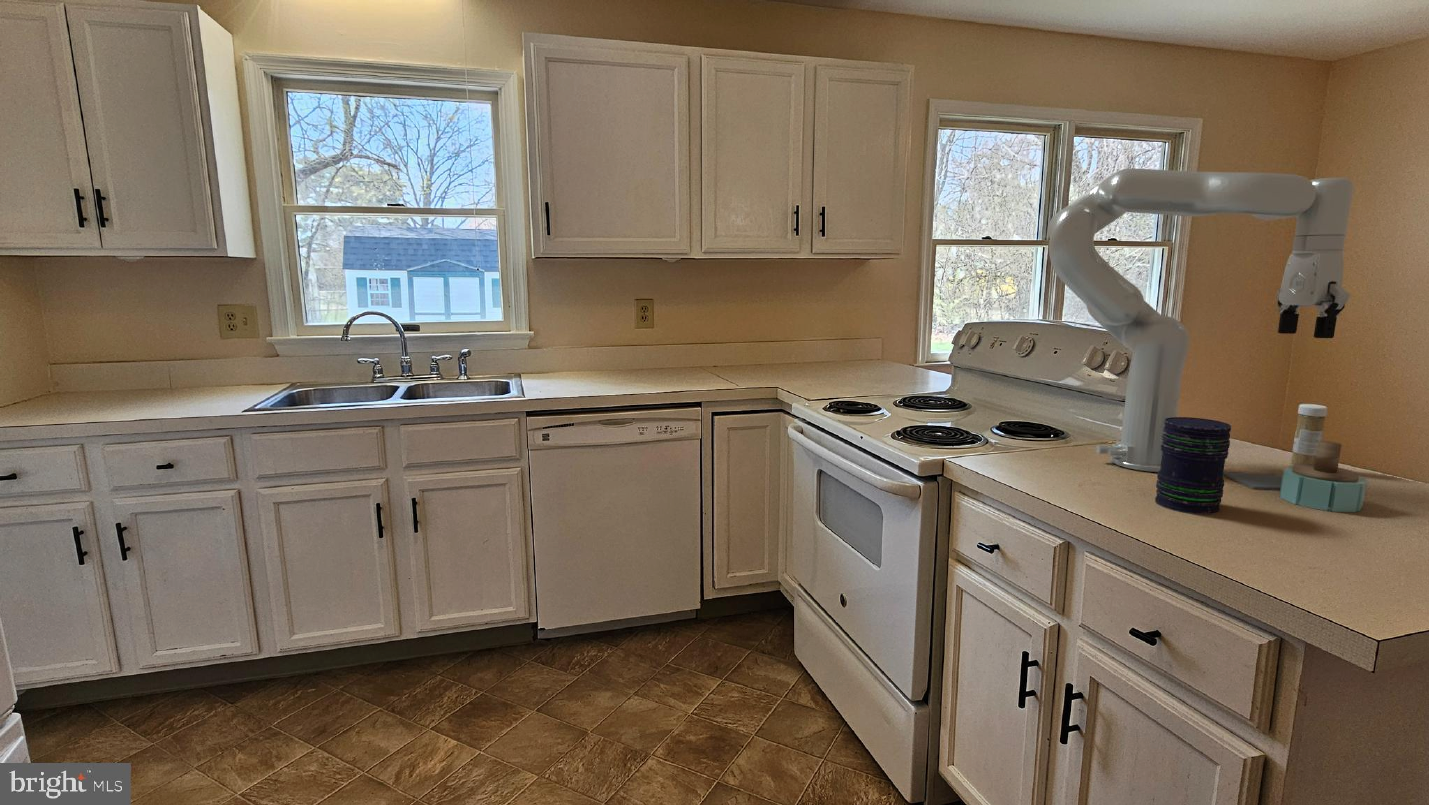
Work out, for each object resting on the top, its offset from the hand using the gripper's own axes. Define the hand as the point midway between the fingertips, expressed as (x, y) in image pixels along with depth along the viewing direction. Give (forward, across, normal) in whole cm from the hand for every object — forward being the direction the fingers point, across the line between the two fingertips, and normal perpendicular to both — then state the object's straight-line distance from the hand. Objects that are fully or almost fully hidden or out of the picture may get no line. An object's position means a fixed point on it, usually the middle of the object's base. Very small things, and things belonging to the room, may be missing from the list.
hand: (1304, 335), depth 139 cm
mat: (+28, +5, -7) cm, 30 cm away
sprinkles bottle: (+28, -6, +8) cm, 30 cm away
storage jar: (+28, +21, -30) cm, 46 cm away
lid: (+23, +17, -5) cm, 29 cm away
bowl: (+28, +17, -5) cm, 33 cm away
